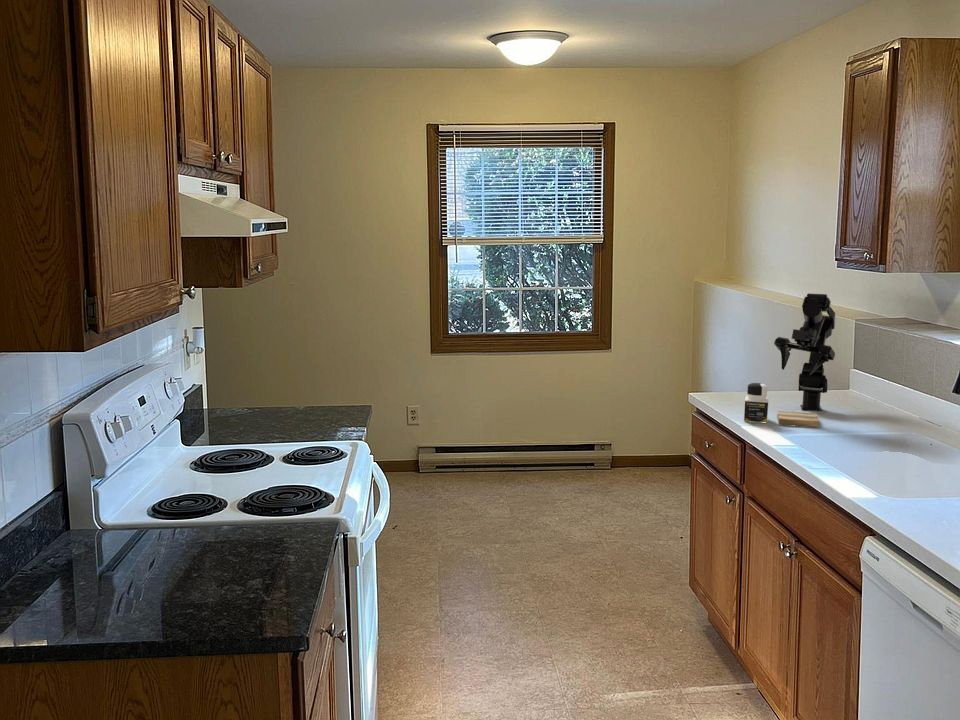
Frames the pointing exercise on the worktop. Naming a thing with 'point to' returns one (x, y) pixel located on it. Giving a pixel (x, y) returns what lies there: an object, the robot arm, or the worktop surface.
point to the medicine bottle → (756, 403)
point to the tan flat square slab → (797, 419)
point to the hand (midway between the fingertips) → (796, 371)
